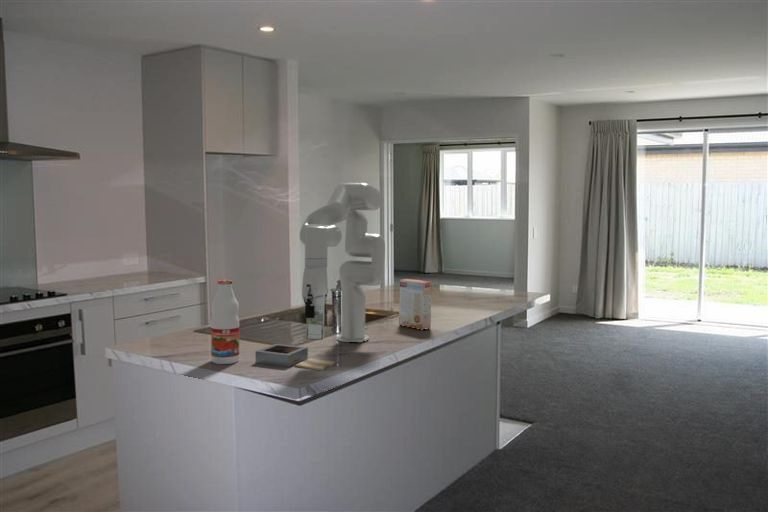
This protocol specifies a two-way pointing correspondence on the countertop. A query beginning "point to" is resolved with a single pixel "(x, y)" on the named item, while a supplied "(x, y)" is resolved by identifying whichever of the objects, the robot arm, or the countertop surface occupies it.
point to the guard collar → (281, 355)
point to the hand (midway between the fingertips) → (315, 315)
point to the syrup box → (316, 320)
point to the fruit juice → (225, 325)
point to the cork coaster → (315, 364)
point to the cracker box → (415, 303)
